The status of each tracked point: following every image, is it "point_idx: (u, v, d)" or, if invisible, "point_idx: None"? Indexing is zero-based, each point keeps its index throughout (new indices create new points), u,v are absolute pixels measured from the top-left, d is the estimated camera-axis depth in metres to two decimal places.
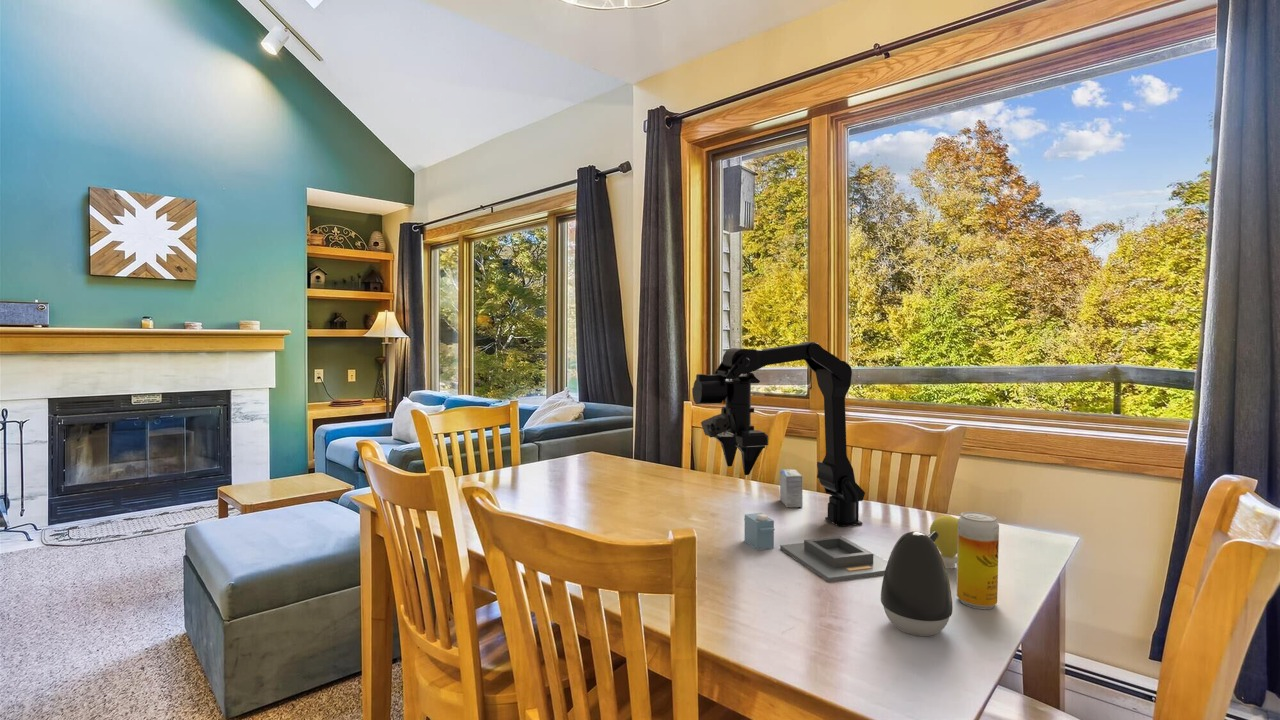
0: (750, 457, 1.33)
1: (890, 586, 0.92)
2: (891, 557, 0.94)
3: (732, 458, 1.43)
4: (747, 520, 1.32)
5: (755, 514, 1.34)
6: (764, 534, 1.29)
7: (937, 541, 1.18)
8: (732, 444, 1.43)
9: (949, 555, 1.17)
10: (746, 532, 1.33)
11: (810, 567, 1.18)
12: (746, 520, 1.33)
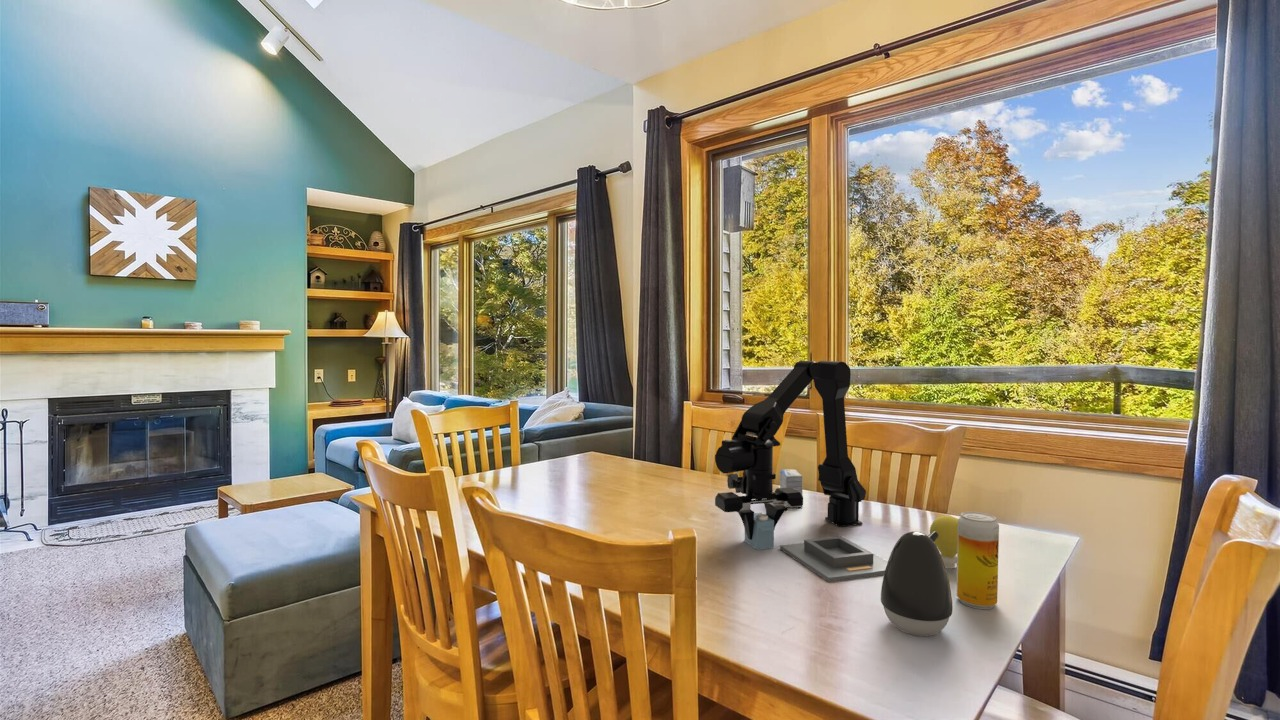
0: (745, 521, 1.30)
1: (890, 586, 0.92)
2: (891, 557, 0.94)
3: None
4: None
5: (755, 514, 1.34)
6: (764, 534, 1.29)
7: (937, 541, 1.18)
8: (771, 515, 1.31)
9: (949, 555, 1.17)
10: None
11: (810, 567, 1.18)
12: None
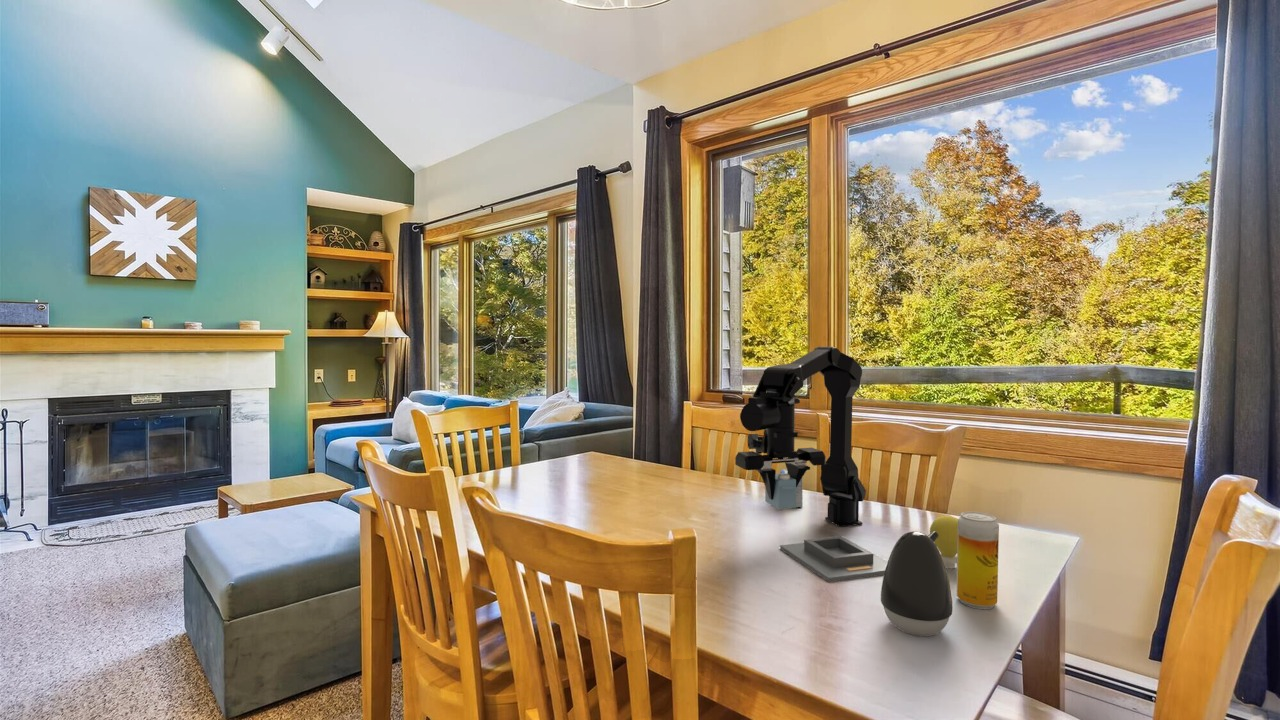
0: (767, 480, 1.27)
1: (890, 586, 0.92)
2: (891, 557, 0.94)
3: None
4: None
5: (776, 474, 1.31)
6: (786, 493, 1.26)
7: (937, 541, 1.18)
8: (792, 475, 1.28)
9: (949, 555, 1.17)
10: None
11: (810, 567, 1.18)
12: None
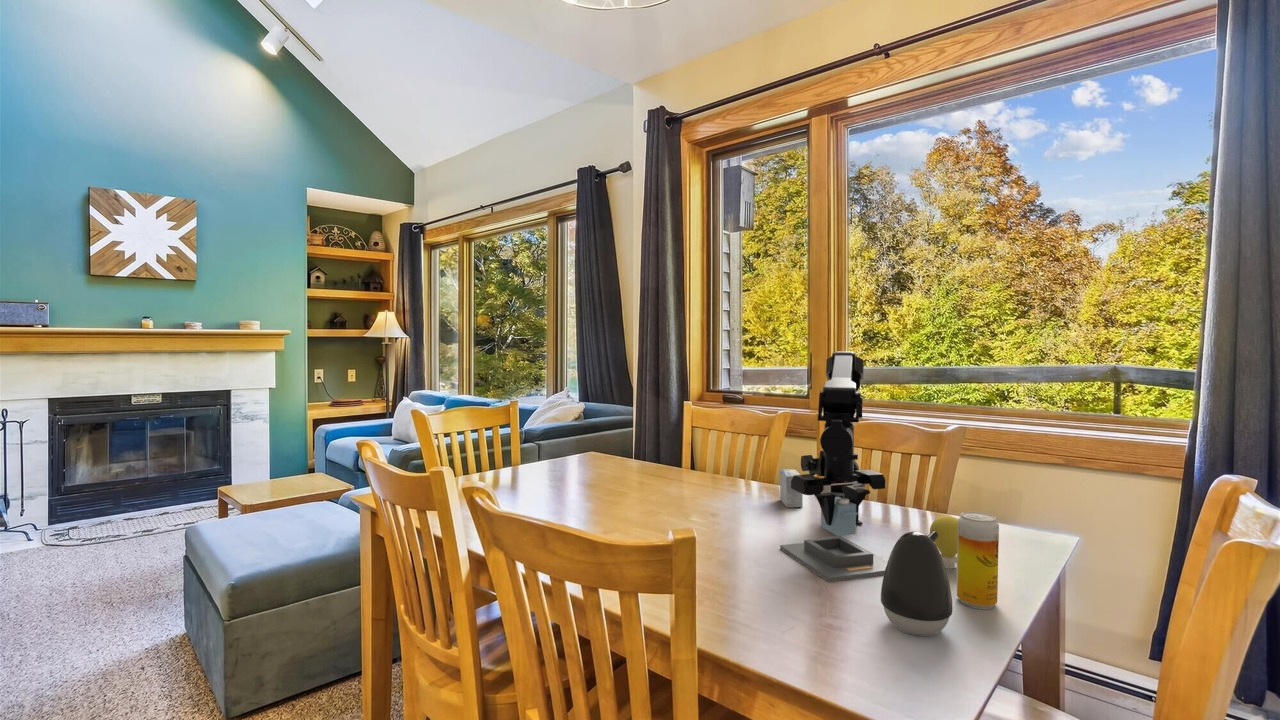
0: (824, 505, 1.21)
1: (890, 586, 0.92)
2: (891, 557, 0.94)
3: None
4: None
5: None
6: (845, 519, 1.19)
7: (937, 541, 1.18)
8: (851, 499, 1.22)
9: (949, 555, 1.17)
10: (823, 517, 1.23)
11: (810, 567, 1.18)
12: None
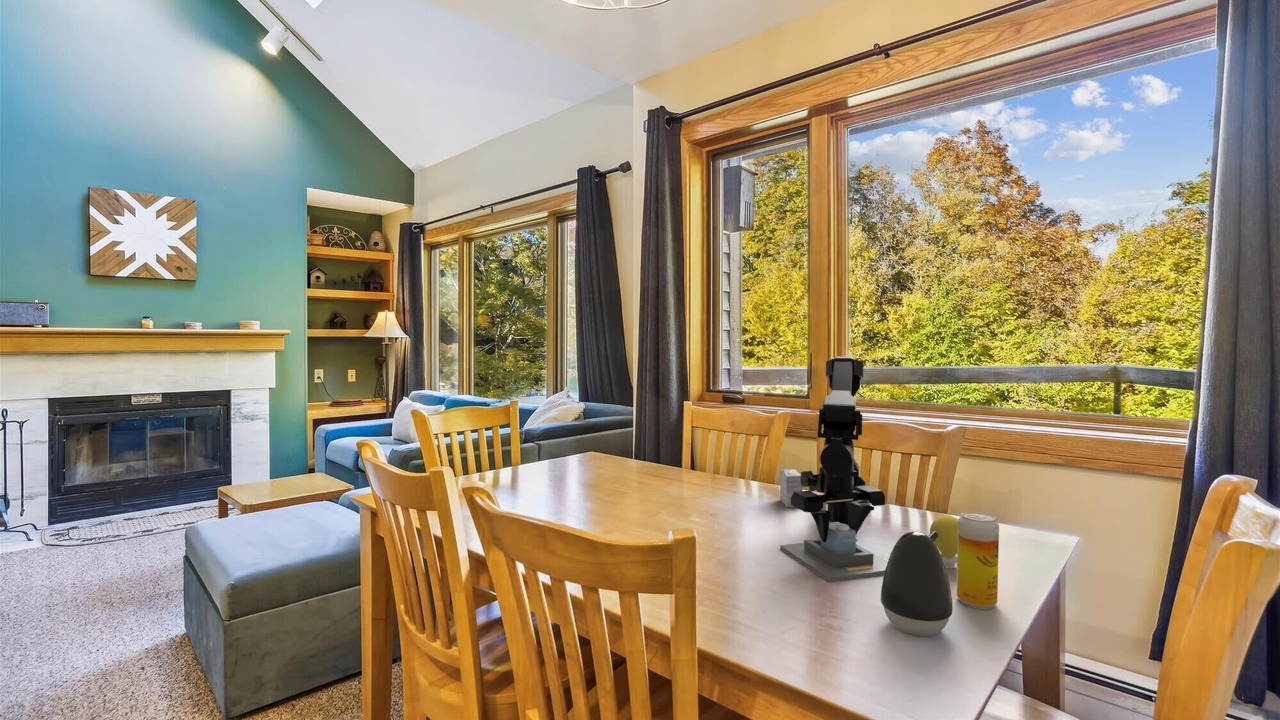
0: (820, 522, 1.20)
1: (890, 586, 0.92)
2: (891, 557, 0.94)
3: None
4: None
5: (833, 523, 1.24)
6: (845, 545, 1.19)
7: (937, 541, 1.18)
8: (855, 515, 1.22)
9: (949, 555, 1.17)
10: (823, 543, 1.24)
11: (810, 567, 1.18)
12: None
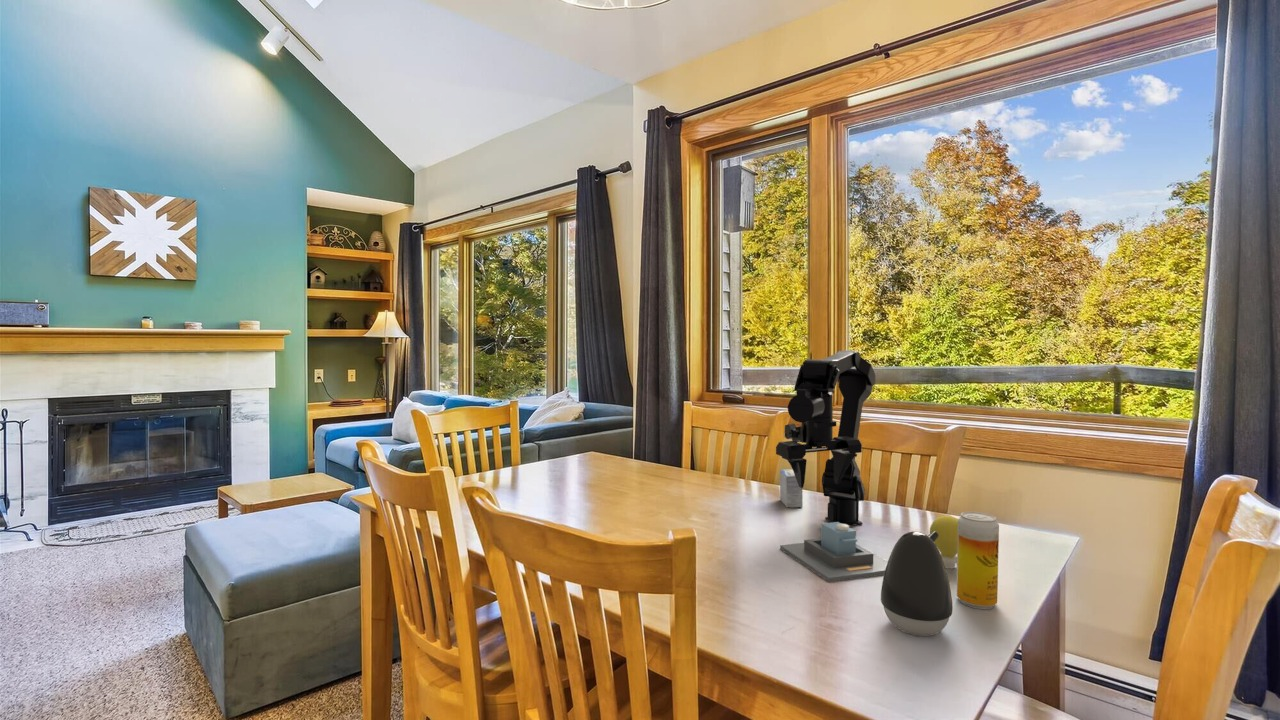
0: (797, 470, 1.31)
1: (890, 586, 0.92)
2: (891, 557, 0.94)
3: (838, 476, 1.34)
4: (825, 530, 1.23)
5: (833, 523, 1.24)
6: (845, 545, 1.19)
7: (937, 541, 1.18)
8: (840, 461, 1.34)
9: (949, 555, 1.17)
10: (823, 543, 1.24)
11: (810, 567, 1.18)
12: (823, 530, 1.23)
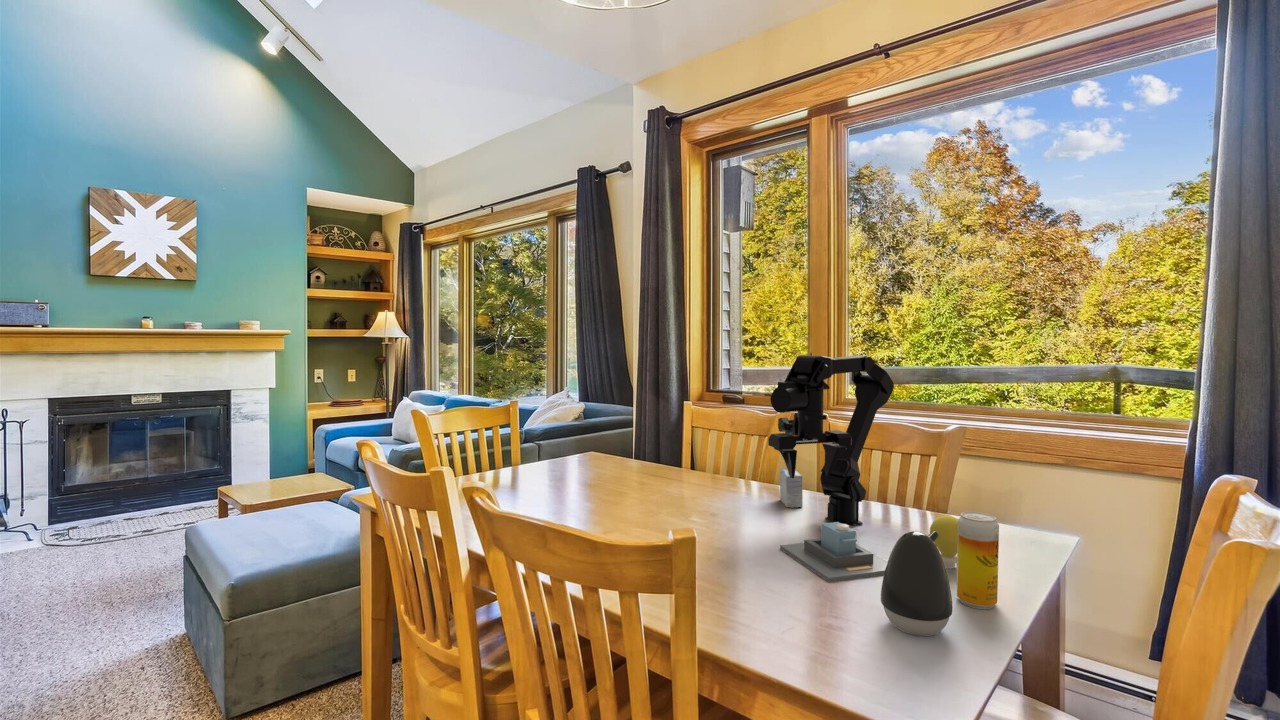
0: (788, 460, 1.37)
1: (890, 586, 0.92)
2: (891, 557, 0.94)
3: (828, 468, 1.40)
4: (825, 530, 1.23)
5: (833, 523, 1.24)
6: (845, 545, 1.19)
7: (937, 541, 1.18)
8: (830, 454, 1.39)
9: (949, 555, 1.17)
10: (823, 543, 1.24)
11: (810, 567, 1.18)
12: (823, 530, 1.23)
